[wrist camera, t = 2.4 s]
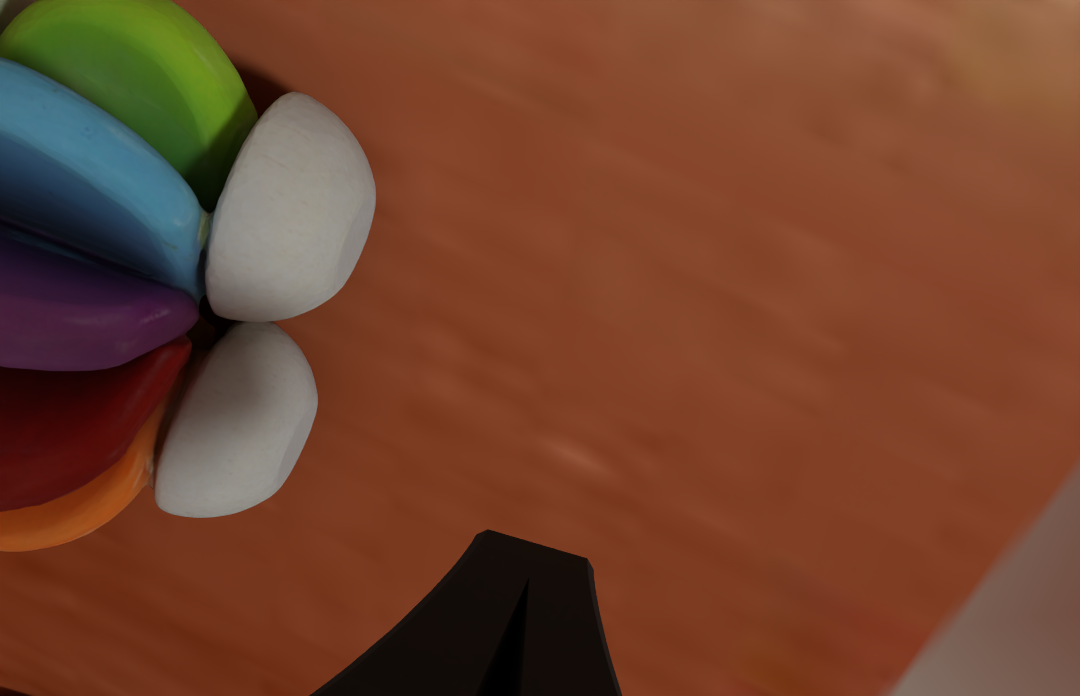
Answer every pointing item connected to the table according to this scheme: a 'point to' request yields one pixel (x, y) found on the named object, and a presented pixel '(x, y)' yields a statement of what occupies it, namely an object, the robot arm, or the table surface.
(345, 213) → the rainbow petal cluster
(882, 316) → the table surface
